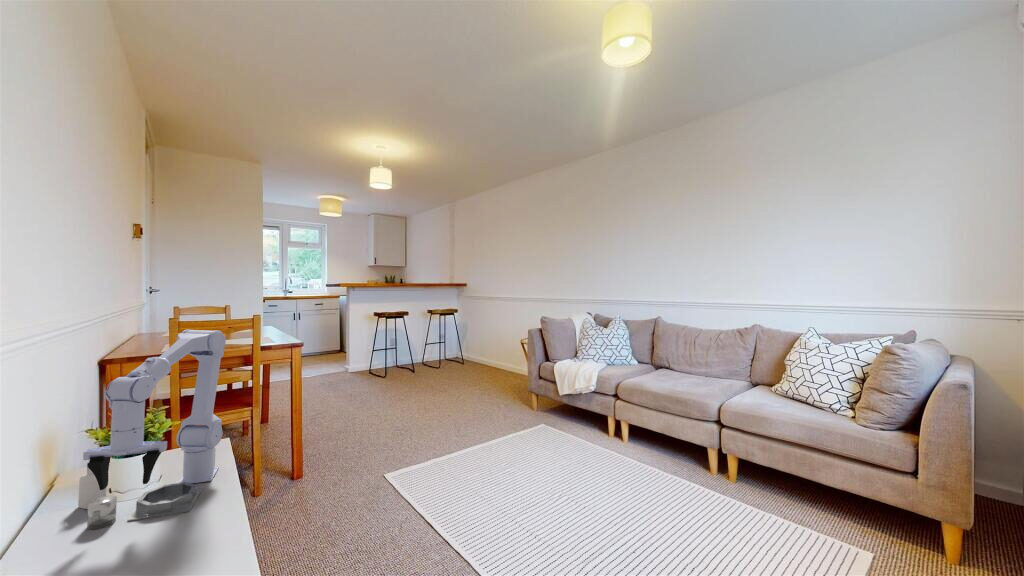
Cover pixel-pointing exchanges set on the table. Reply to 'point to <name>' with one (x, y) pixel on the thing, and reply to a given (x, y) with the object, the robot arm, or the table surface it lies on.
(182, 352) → the robot arm
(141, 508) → the collar
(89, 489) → the eye dropper bottle
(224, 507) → the table surface
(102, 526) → the silver short rounded cylinder
